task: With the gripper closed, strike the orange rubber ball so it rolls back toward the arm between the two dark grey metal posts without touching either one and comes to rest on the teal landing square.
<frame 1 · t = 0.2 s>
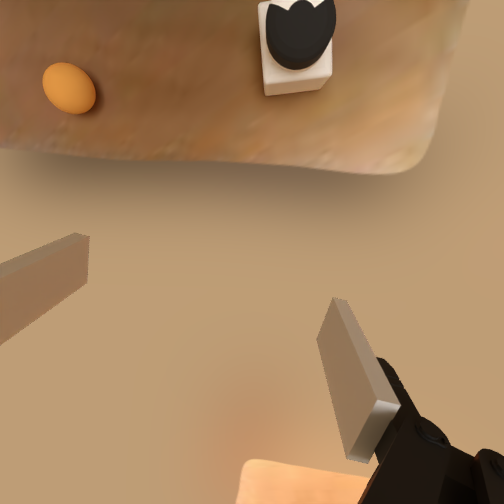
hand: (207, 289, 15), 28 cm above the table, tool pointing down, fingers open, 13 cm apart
ball: (70, 89, 35), on the table
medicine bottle: (291, 61, 35), on the table
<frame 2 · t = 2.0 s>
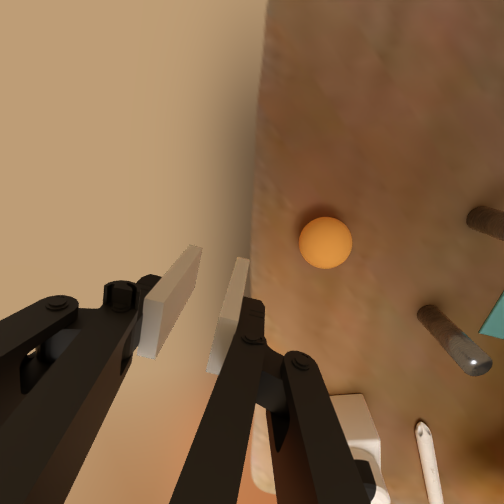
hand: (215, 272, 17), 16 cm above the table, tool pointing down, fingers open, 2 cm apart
post 1: (479, 218, 31), on the table
ball: (325, 242, 30), on the table
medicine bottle: (338, 411, 42), on the table
marker: (425, 456, 44), on the table
post 2: (428, 314, 36), on the table
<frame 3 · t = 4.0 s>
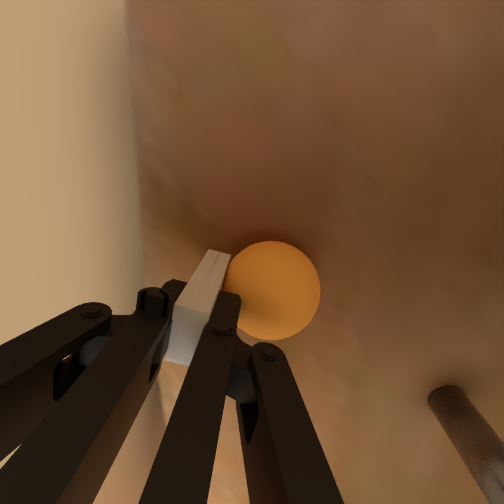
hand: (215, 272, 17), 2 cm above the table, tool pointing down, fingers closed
ball: (270, 289, 16), on the table, touching gripper
post 2: (446, 399, 21), on the table
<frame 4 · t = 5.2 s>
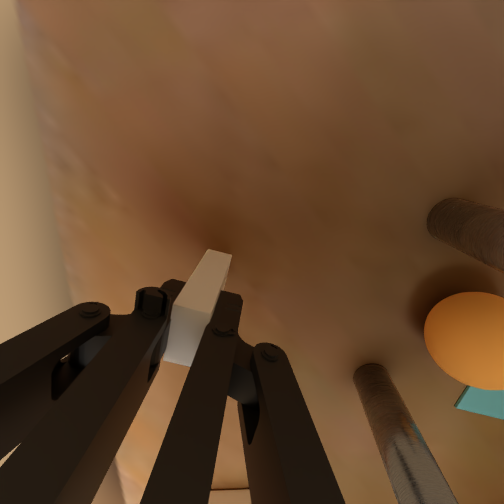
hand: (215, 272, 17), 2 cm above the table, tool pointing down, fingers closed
post 1: (449, 219, 17), on the table
ball: (478, 338, 17), on the table
post 2: (370, 377, 22), on the table
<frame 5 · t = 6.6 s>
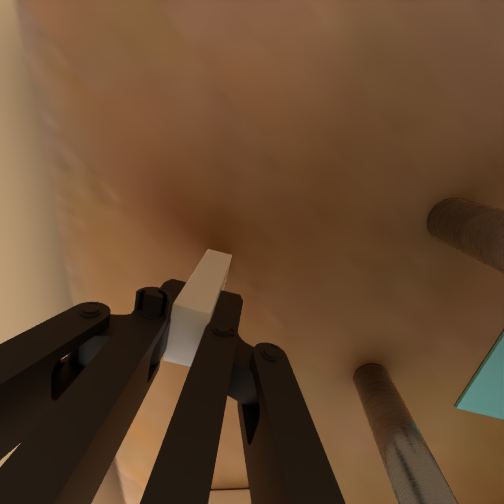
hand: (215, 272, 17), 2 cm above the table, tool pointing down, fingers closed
post 1: (449, 219, 17), on the table
post 2: (370, 377, 22), on the table
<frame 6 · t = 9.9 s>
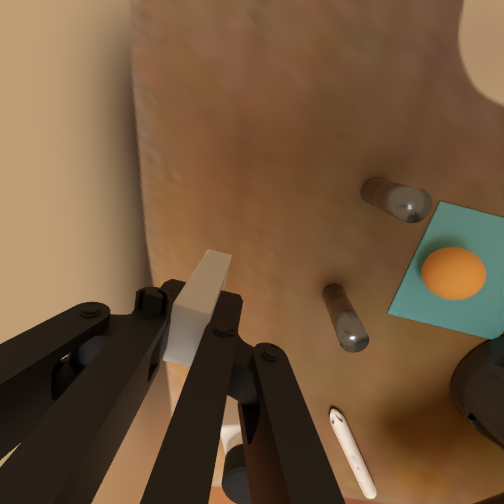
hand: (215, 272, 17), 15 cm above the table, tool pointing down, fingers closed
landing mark: (469, 275, 33), on the table
post 1: (373, 190, 30), on the table
ball: (452, 273, 30), on the table
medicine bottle: (255, 397, 41), on the table
marker: (349, 444, 43), on the table
post 2: (333, 293, 34), on the table
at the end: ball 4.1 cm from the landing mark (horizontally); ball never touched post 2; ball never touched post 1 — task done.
